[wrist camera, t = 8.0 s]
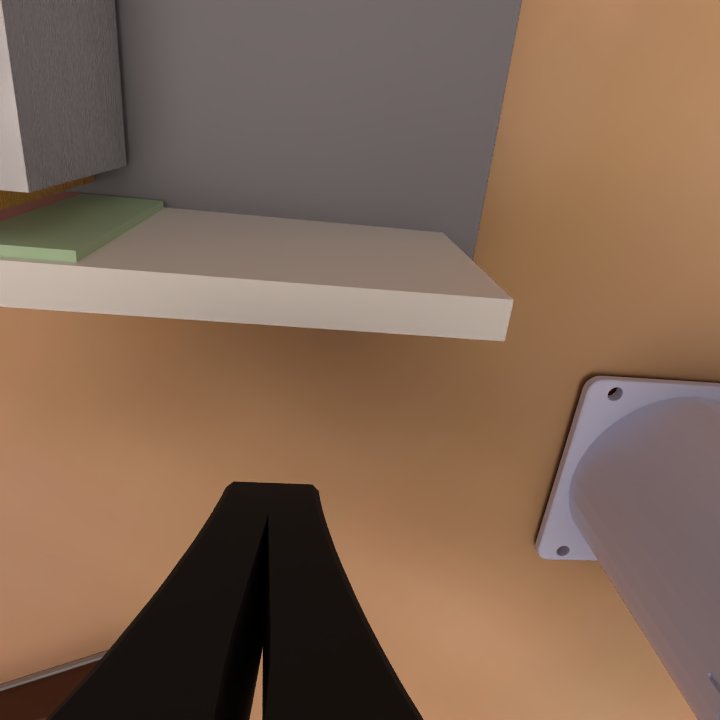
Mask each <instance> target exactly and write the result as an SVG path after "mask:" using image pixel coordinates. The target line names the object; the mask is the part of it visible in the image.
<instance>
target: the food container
mask: <svg viewBox="0 0 720 720" xmlns="http://www.w3.org/2000/svg"><path fill="white" fill-rule="evenodd" d="M107 651H108V650H107ZM107 651H104V652H101V653H98V654H95V655H91V656H88V657H85V658H82V659H79V660H76V661H72V662H69V663H66V664H63V665H60V666H57V667H54V668H50V669H47V670H44V671H41V672H38V673H35V674H31V675H28V676H25V677H22V678H19V679H16V680H13V681H9V682H6V683H3V684H0V720H45V719H46V718H47V717H48V716H49V715H50V714H51V713H52V712H53V711H54V710H55V709H56V708H57V707H58V706H59V704H60V703H61V702H62V701H63V700H64V699H65V698H66V697H67V696H68V695H69V694H70V693H71V692H72V691H73V690H74V688H75V687H76V686H77V685H78V684H79V683H80V682H81V681H82V680H83V679H84V677H85V676H86V675H87V674H88V673H89V672H90V671H91V670H92V669H93V667H94V666H95V665H96V664H97V663H98V662H99V661H100V659H101V658H102V657H103V656H104V655H105V654H106V653H107Z"/></svg>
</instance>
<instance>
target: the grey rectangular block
mask: <svg viewBox="0 0 720 720" xmlns="http://www.w3.org/2000/svg"><path fill="white" fill-rule="evenodd" d="M124 166H126V153H125V139H124V125H123V110H122V96H121V82H120V68H119V54H118V40H117V26H116V12H115V0H0V210H3V209H7V208H10V207H13V206H17V205H20V204H23V203H26V202H30V201H33V200H36V199H39V198H43V197H46V196H49V195H52V194H56V193H59V192H62V191H65V190H69V189H72V188H75V187H78V186H82V185H85V184H88V183H91V182H95V181H94V175H95V174H99V173H102V172H106V171H109V170H113V169H117V168H120V167H124Z"/></svg>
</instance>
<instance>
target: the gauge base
mask: <svg viewBox="0 0 720 720" xmlns="http://www.w3.org/2000/svg"><path fill="white" fill-rule="evenodd" d="M521 3H522V0H115V12H116V26H117V40H118V54H119V68H120V82H121V96H122V110H123V125H124V139H125V153H126V166H124V167H120V168H117V169H113V170H109V171H106V172H102V173H99V174H95V175H94V181H95V182H91V183H88V184H85V185H82V186H78V187H75V188H72V189H69V190H65V191H62V192H59V193H56V194H52V195H49V196H46V197H43V198H39V199H36V200H33V201H30V202H26V203H23V204H20V205H17V206H13V207H10V208H7V209H3V210H0V307H12V308H27V309H41V310H56V311H71V312H85V313H100V314H114V315H129V316H143V317H158V318H172V319H187V320H202V321H216V322H231V323H245V324H260V325H274V326H289V327H304V328H318V329H333V330H347V331H362V332H376V333H391V334H406V335H420V336H435V337H449V338H464V339H478V340H493V341H505V337H506V332H507V328H508V324H509V319H510V315H511V310H512V306H513V302H514V300H513V299H512V298H511V297H510V296H509V295H508V294H507V293H506V292H505V291H504V290H503V289H502V288H501V287H500V286H499V285H498V284H497V283H496V282H494V281H493V280H492V279H491V278H490V277H489V276H488V275H487V274H486V273H485V272H484V271H483V270H482V269H481V268H480V267H479V266H478V265H477V264H475V263H474V262H473V256H474V251H475V246H476V240H477V235H478V230H479V224H480V219H481V214H482V209H483V203H484V198H485V193H486V188H487V182H488V177H489V172H490V166H491V161H492V156H493V151H494V145H495V140H496V135H497V130H498V124H499V119H500V114H501V108H502V103H503V98H504V93H505V87H506V82H507V77H508V72H509V66H510V61H511V56H512V50H513V45H514V40H515V35H516V29H517V24H518V19H519V14H520V8H521Z"/></svg>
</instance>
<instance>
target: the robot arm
mask: <svg viewBox="0 0 720 720" xmlns="http://www.w3.org/2000/svg"><path fill="white" fill-rule="evenodd" d="M616 387H617V390H616V391H615V393H613V394H612V395H608V393H609V391H610V390H611V389H613V388H616ZM561 546H563V547H562V548H559V547H561ZM535 548H536V550H537V552H538V554H539V556H540V557H541V558H543V559H554V560H596V561H599V563H600V565H601V566H602V568H603V569H604V571H605V573H606V574H607V576H608V577H609V579H610V580H611V582H612V584H613V585H614V587H615V588H616V590H617V592H618V593H619V595H620V596H621V598H622V600H623V601H624V603H625V604H626V606H627V608H628V609H629V611H630V612H631V614H632V615H633V617H634V619H635V620H636V622H637V623H638V625H639V627H640V628H641V630H642V631H643V633H644V635H645V636H646V638H647V639H648V641H649V643H650V644H651V646H652V647H653V649H654V651H655V652H656V654H657V655H658V657H659V658H660V660H661V662H662V663H663V665H664V666H665V668H666V670H667V671H668V673H669V674H670V676H671V678H672V679H673V681H674V682H675V684H676V686H677V687H678V689H679V690H680V692H681V693H682V695H683V697H684V698H685V700H686V701H687V703H688V705H689V706H690V708H691V709H692V711H693V713H694V714H695V716H696V717H697V719H698V720H720V383H710V382H694V381H678V380H662V379H646V378H630V377H614V376H595V377H593V378H591V379H589V380H588V381H587V382H586V383H585V385H584V387H583V389H582V392H581V396H580V399H579V402H578V406H577V409H576V412H575V415H574V419H573V422H572V425H571V429H570V432H569V435H568V438H567V442H566V445H565V448H564V452H563V455H562V458H561V461H560V465H559V468H558V471H557V475H556V478H555V481H554V485H553V488H552V491H551V494H550V498H549V501H548V504H547V508H546V511H545V514H544V517H543V521H542V524H541V527H540V531H539V534H538V537H537V540H536V544H535ZM558 548H559V549H558ZM262 648H263V716H262V720H423V718H422V716H421V715H420V713H419V711H418V710H417V708H416V707H415V705H414V703H413V702H412V700H411V698H410V697H409V695H408V694H407V692H406V690H405V689H404V687H403V685H402V683H401V682H400V680H399V678H398V676H397V675H396V673H395V671H394V669H393V668H392V666H391V664H390V662H389V660H388V659H387V657H386V655H385V653H384V651H383V649H382V648H381V646H380V644H379V642H378V640H377V638H376V636H375V634H374V632H373V630H372V628H371V627H370V625H369V623H368V621H367V619H366V617H365V615H364V613H363V610H362V608H361V606H360V604H359V602H358V600H357V598H356V596H355V594H354V591H353V589H352V587H351V584H350V582H349V580H348V578H347V575H346V573H345V571H344V569H343V566H342V564H341V562H340V559H339V557H338V554H337V552H336V549H335V547H334V544H333V541H332V538H331V535H330V533H329V530H328V527H327V524H326V521H325V517H324V514H323V510H322V506H321V502H320V497H319V491H318V490H317V489H316V488H315V487H314V486H313V485H310V484H283V483H257V482H233V483H231V484H230V485H229V486H227V487H226V489H225V490H224V492H223V494H222V496H221V498H220V500H219V502H218V503H217V505H216V507H215V508H214V510H213V512H212V513H211V515H210V517H209V518H208V520H207V521H206V523H205V525H204V526H203V528H202V529H201V531H200V532H199V534H198V535H197V537H196V538H195V540H194V541H193V543H192V544H191V545H190V547H189V548H188V550H187V551H186V552H185V554H184V555H183V556H182V558H181V559H180V561H179V562H178V563H177V565H176V566H175V567H174V569H173V570H172V572H171V573H170V574H169V576H168V577H167V578H166V580H165V581H164V583H163V584H162V585H161V587H160V588H159V589H158V590H157V592H156V593H155V594H154V596H153V597H152V598H151V599H150V601H149V602H148V603H147V604H146V605H145V607H144V608H143V609H142V610H141V612H140V613H139V614H138V615H137V616H136V618H135V619H134V620H133V621H132V623H131V624H130V625H129V626H128V627H127V629H126V630H125V631H124V632H123V634H122V635H121V636H120V637H119V638H118V640H117V641H116V642H115V643H114V645H113V646H112V647H111V648H110V649H109V650H108V651H107V653H106V654H105V655H104V656H103V657H102V658H101V659H100V661H99V662H98V663H97V664H96V665H95V666H94V667H93V669H92V670H91V671H90V672H89V673H88V674H87V675H86V676H85V677H84V679H83V680H82V681H81V682H80V683H79V684H78V685H77V686H76V687H75V688H74V690H73V691H72V692H71V693H70V694H69V695H68V696H67V697H66V698H65V699H64V700H63V701H62V702H61V703H60V704H59V706H58V707H57V708H56V709H55V710H54V711H53V712H52V713H51V714H50V715H49V716H48V717H47V718H46V719H45V720H249V719H250V713H251V708H252V703H253V697H254V692H255V686H256V681H257V675H258V670H259V665H260V659H261V654H262Z"/></svg>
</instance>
